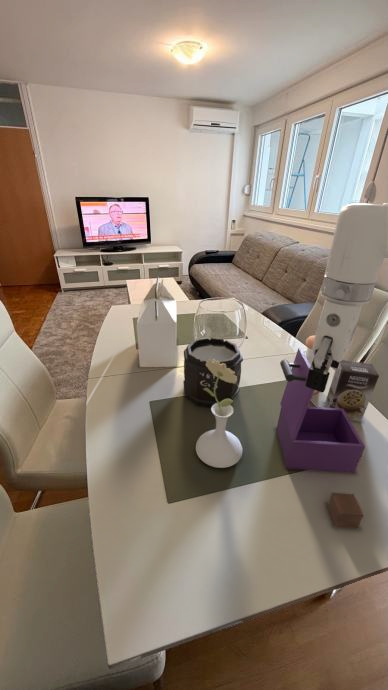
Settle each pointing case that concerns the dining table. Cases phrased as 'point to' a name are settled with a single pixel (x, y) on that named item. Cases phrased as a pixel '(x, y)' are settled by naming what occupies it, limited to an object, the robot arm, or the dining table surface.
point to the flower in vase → (219, 426)
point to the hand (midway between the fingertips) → (322, 376)
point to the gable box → (157, 328)
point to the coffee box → (352, 388)
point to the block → (345, 510)
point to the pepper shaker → (310, 351)
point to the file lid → (296, 392)
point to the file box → (321, 441)
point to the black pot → (203, 378)
